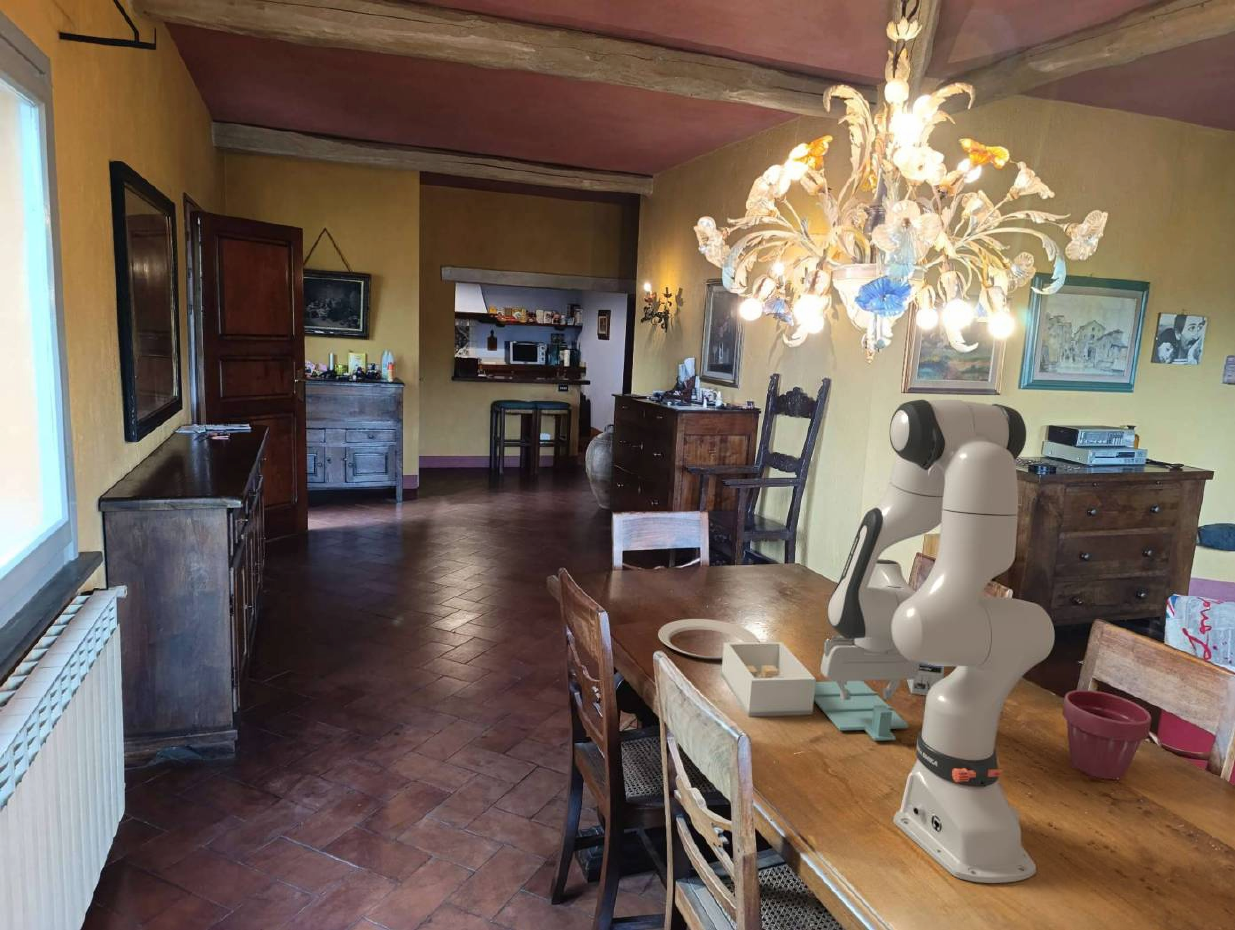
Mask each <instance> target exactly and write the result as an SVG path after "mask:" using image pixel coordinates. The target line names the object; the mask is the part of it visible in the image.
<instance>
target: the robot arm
mask: <svg viewBox="0 0 1235 930" xmlns="http://www.w3.org/2000/svg"><path fill="white" fill-rule="evenodd" d="M889 442H890V445H891V448H892V449H893V451H894V452H895V454H896V455H895V458H894V462H893V465H892V470H891V473H890V478H889V483H888V486H887V488H886V489H887V490H886V491H885V493H884V495H883V497H882V498H881V500H880V501H879V503H877V505H876V506H875V507H873V508H871V510H868V511H867V512H866V513H865V515H864V517H862V518H863V519H862V520H861V522H860V525H859V528H858V530H857V531H856V535H855V538H854V540H853V543H852V546H851V548H850V551H849V555H848V557H847V558H846V559H847V560H846V562H845V566H844V567H843V571H842V573H841V575H840V577H839V581H838V582H837V585H836V586H835V588H834V590H833V592H832V594H831V596H830V598H829V601H828V607H827V619H828V622H829V625H830V626H831V628H832V629H834V631H836V632H837V634H839V635H837V634H836V635H831V637H829V638H827V639H826V640H825V641H824V645H823V656H822V659H821V665H820V672H821V674H822V675H823V677H824V678H825V679H826V680H827V681H828V682H833V681H836V682H837V684H838V686H839V688H840V689H841V693H840V697H841V699H842V700H850V696H851V692H850V691H849V690H848V689H846V688H845V686H844V685H847V681H889V684H888V685H887V687H885V688H882V698H884V699H885V700H893V698H894V693H895V691H896V690H897V689H898V687H899V686H900V684H901V680H902V681H903V680H906V681H907V680H910V679H914V678H915V677H916V676H917V675H918V671H919V663H923V664H928V665H933V666H945V667H955V668H954V670H953V671H952V672H950V674H948V675H947V676H945V677H943V679H941V680H940V681H938V682H937V683H935V684H934V685H933V686H932V687H931V688H930V690H929V692H928V694H927V696H925V697H926V698H925V705H924V714H923V721H922V727H921V728H922V729H921V731H920V732H919V734H918V738H917V741H916V751H915V752H916V753H915V756H916V758H917V759H916V761H915V764H914V765H913V767H912V769H911V770H910V772H909V774H908V775H907V780H906V784H905V787H904V793H903V797H902V801H901V806H900V808H899V810H898V811H896V813H894V814H893V820H892V822H893V824H894V825H895V826H897V828H899V829H900V830H901V831H902V832H903V833H905V834H906V835H907V836H908V837H909V838H910V839H911V840H913V842H915V843H916V844H917V845H918V846H919V847H921V848H922V849H923V851H925V852H926V853H927V854H928V855H929V856H930V857H932V859H934V860H935V861H936V862H937V863H938V864H939V865H941V866H942V867H943V868H944V869H945V870H946V871H947V872H949V873H950V874H951V875H953V876H954V877H955V878H958V879H961V880H965V881H969V882H976V883H983V884H984V883H985V884H997V883H999V884H1000V883H1012V882H1017V881H1018V882H1019V881H1023V880H1026V879H1029V878H1031V877H1033V875H1035V874H1036V872H1037V868H1036V867H1037V866H1036V863H1035V862H1034V860H1033V859H1032V858H1031V857H1030V855H1029V854H1028V852H1027V851H1026V850H1025V848H1024V847H1023V846H1022V831H1021V830H1022V829H1021V826H1020V824H1019V823H1020V821H1021V816H1020V815H1021V814H1020V812H1019V809H1018V808H1017V807H1011V805H1010V803H1009V801H1008V798H1007V797H1006V794H1005V791H1004V789H1003V788H1002V787H1001V784H1000V782H999V777H1003V774H1001V773H1002V772H1003V771H1004V770H1003V769H1001V768H1000V769H999V767H998V764H999V762H998V761H999V760H998V758H997V751H996V749H995V743H996V738H997V731H998V727H999V723H1000V718H1001V713H1002V710H1003V707H1004V705H1005V702H1006V701H1007V699H1008V697H1009V694H1010V693H1011V691H1012V690H1013V689H1014V687H1015V686H1016V684H1017V683H1018V682H1019V681H1020V679H1021V678H1022V677H1023V676H1024V675H1025V674H1026V673H1027V672H1028V671H1029V670H1031V669H1032V668H1034V667H1035V666H1036V665H1038V664H1040V663H1041V662H1043V661H1044V660H1046V659H1047V657H1049V655H1050V654H1051V651H1052V650H1053V647H1054V644H1055V637H1056V635H1055V629H1054V624H1053V622H1052V619H1051V617H1050V615H1049V614H1048V612H1047V611H1046V610H1045V609H1044V608H1043V607H1042V606H1041V605H1040V604H1037V603H1035V602H1032V601H1031V602H1030V601H1027V600H1023V599H1017V598H1013V597H1008V596H1007V597H1003V596H1002V597H1001V596H1000V597H998V596H997V597H996V596H982V594H983V592H984V590H985V588H986V587H987V585H988V584H989V582H991V580H993V579H994V578H995V577H997V576H999V575H1000V574H1003V573H1005V572H1007V571H1008V569H1009V568H1011V566H1012V565H1013V563H1014V561H1015V558H1016V546H1017V545H1016V544H1017V530H1018V529H1017V528H1018V513H1019V509H1018V508H1019V487H1018V476H1017V475H1018V474H1017V468H1016V463H1015V462H1016V461H1015V460H1017V459H1018V457H1019V456H1020V455H1021V454H1022V452H1023V450H1024V448H1025V445H1026V442H1027V427H1026V424H1025V421H1024V418H1023V416H1022V415H1021V413H1020V412H1019V411H1017V409H1016V408H1015V409H1014V408H1012V407H1010V406H1007V405H1002V404H999V403H992V404H987V403H981V402H973V401H963V400H961V399H939V400H938V399H936V400H926V399H915V400H910V401H907V402H902V404H900V405H899V406H898V407H897V409H896V410H895V411H894V412H893V414H892V417H891V420H890V424H889ZM938 526H940V532H939V539H938V540H939V542H938V549H937V554H936V557H935V558H936V559H935V560H934V564H933V566H932V567H931V571H930V573H929V574H928V576H927V578H926V579H925V580H924V582H923V583H922V585H921V586H920V587H919V588H918V589H917V590H916V588H912V587H911V586H910V585H909V584H908V582H907V581H906V580H905V578H904V576H903V572H902V566H901V564H900V563H899V562H897V561H895V560H890V559H880V556H881V555H882V553H883V552H884V551H886V549H888V548H890V547H892V546H893V545H895V544H898V543H899V542H902V541H905V540H908V539H911V538H914V537H917V536H921V535H924V534H927V533H929V532H931V531H933V530H934V529H936V528H937V527H938Z"/></svg>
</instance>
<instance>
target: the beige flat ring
mask: <svg viewBox="0 0 1235 930" xmlns="http://www.w3.org/2000/svg"><path fill="white" fill-rule="evenodd" d="M690 630H691V631H694V630H706V631H714V632H720V633H723V634H727V635H731V636H733V637H735V638H737V639H739V640H740V641H742V643H747V642H759V639H758V637H757V636H756V635H755V634H754V633H753V632H752V631H750V630H749V629H746V628H744V627H742V626H740V625H738V624H734V623H732V622H731V623H730V622H726V621H722V620H715V619H705V618H687V619H679V620H674V621H671V622H668V623H666V624H664V625H663V626H661V627H660V629H658V634H657V636H658V638H659V640H660V641H661V643H663V644H665V645H666V646H667V647H669V648H671V649H673V650H675V651H677V652H679V653H682V654H683V655H686V656H690V657H693V658H699V659H704V660H723V656H708V655H707V656H706V655H700V654H694V653H690V652H688V651H685V650H682V649H680V648H678V647H676V646H675V645H673V644H672V643H671V638H672V637H673V636H674V635H676V634H678V633H681V632H686V631H690Z"/></svg>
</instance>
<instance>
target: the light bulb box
mask: <svg viewBox="0 0 1235 930" xmlns="http://www.w3.org/2000/svg"><path fill="white" fill-rule="evenodd" d="M945 667H946V666H933V665H928V664H923V663H919V671H918V675H917V676H916V677H915V678H914V679H910V680H906V682H907V685H908V688H909V691H910V693H911V694H912V695H918V696H919V695H920V696H925V697H926V696H927V694H928V692H929V690H930V688H931V687H932V686H933V685H934V684H935V683H937V682H938V681H940V680H941V679H943V678H944V675H945Z"/></svg>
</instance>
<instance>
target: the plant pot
mask: <svg viewBox="0 0 1235 930" xmlns="http://www.w3.org/2000/svg"><path fill="white" fill-rule="evenodd" d="M1151 715H1152V714H1150V712H1149V711H1148V710H1147V709H1145V708H1144V707H1142V706H1141V705H1139V704H1138V703H1135V702H1133V701H1131V700H1129V699H1126V698H1124V697H1122V696H1118V695H1114V694H1111V693H1107V692H1102V691H1097V690H1089V689H1078V690H1075V689H1074V690H1072V691H1069V692H1067V693H1066V694H1065V695H1064V700H1063V705H1062V716H1063V718H1064V719H1065V720H1066V726H1067V739H1068V749H1069V758H1070V763H1071V764H1072V765H1073V766H1074V767H1075V768H1076V769H1078V770H1079V769H1080V770H1079V771H1081V772H1082V771H1083V773H1084V772H1085V773H1084V774H1087V775H1089V774H1090V775H1089V776H1092V777H1094V778H1098V777H1100V778H1099V779H1102V778H1105V779H1104V780H1108V779H1117V778H1121V777H1123V776H1124V777H1125V774H1126V772H1127V771H1128V769H1129V767H1130V765H1131V762H1132V761H1133V758H1134V756H1135V755H1136V753H1137V750H1138V748H1139V746H1140V744H1141V742H1142V741H1143V740H1145V739H1147V738H1148V736H1149V733H1150V729H1151V723H1152V716H1151ZM1124 777H1123V778H1124ZM1121 779H1122V778H1121Z"/></svg>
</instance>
